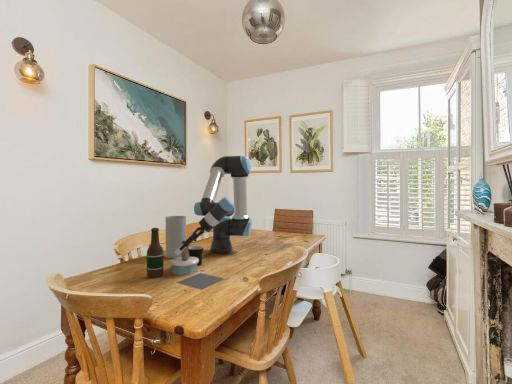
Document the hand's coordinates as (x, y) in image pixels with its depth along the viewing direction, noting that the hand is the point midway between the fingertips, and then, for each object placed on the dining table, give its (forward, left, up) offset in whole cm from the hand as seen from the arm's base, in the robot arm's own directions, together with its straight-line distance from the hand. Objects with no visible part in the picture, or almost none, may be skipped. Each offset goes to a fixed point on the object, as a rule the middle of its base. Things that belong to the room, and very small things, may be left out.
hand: (180, 250), depth 142 cm
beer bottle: (+12, -5, -11) cm, 17 cm away
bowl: (-1, +2, -11) cm, 11 cm away
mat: (+5, +19, -11) cm, 23 cm away
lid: (-1, +2, -6) cm, 6 cm away
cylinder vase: (-20, -26, -11) cm, 35 cm away
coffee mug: (-14, -2, -11) cm, 18 cm away
